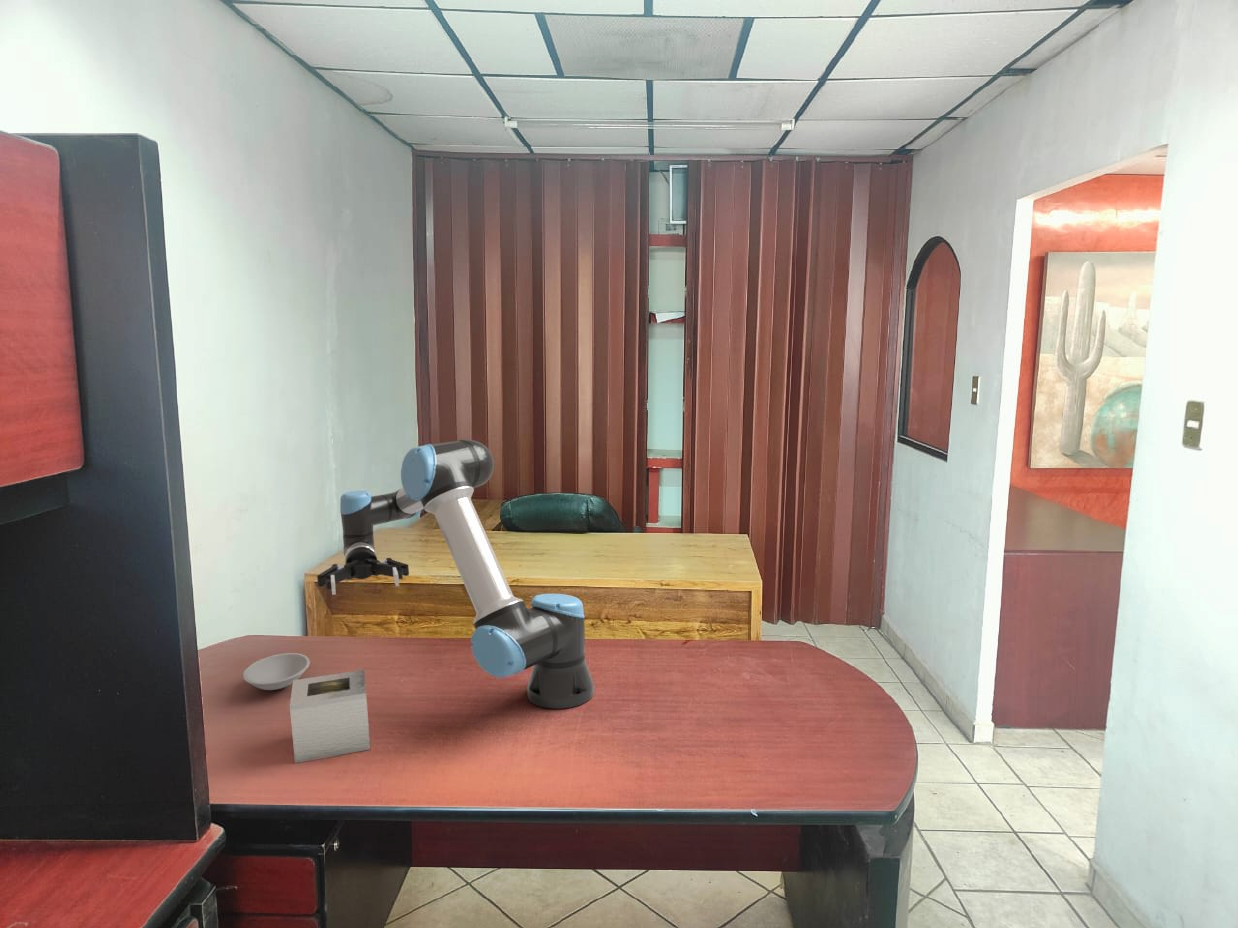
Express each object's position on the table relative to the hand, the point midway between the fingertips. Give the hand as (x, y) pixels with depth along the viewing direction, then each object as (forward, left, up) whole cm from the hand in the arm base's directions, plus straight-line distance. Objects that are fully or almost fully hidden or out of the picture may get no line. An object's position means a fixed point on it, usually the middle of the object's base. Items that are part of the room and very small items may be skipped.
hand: (365, 584), depth 175 cm
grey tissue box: (0, +20, -27) cm, 33 cm away
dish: (+25, -4, -27) cm, 38 cm away
